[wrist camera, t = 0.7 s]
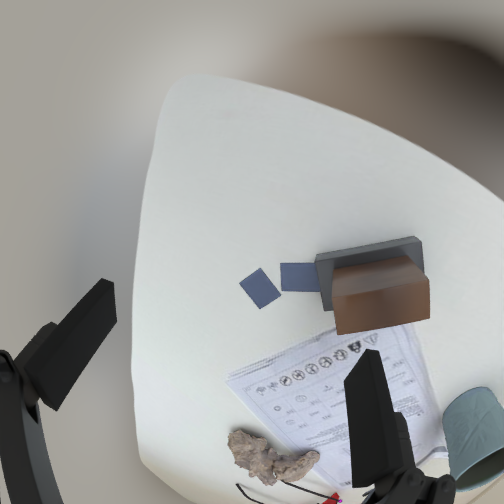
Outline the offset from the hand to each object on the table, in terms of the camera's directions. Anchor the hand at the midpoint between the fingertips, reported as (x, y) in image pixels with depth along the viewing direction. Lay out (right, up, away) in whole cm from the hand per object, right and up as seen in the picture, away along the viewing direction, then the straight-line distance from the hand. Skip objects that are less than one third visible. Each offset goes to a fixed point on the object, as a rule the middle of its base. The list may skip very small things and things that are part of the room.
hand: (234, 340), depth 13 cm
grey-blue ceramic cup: (+31, -17, +12) cm, 38 cm away
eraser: (+12, +3, +13) cm, 18 cm away
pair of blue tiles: (+6, +1, +15) cm, 16 cm away
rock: (+4, -25, +22) cm, 34 cm away
